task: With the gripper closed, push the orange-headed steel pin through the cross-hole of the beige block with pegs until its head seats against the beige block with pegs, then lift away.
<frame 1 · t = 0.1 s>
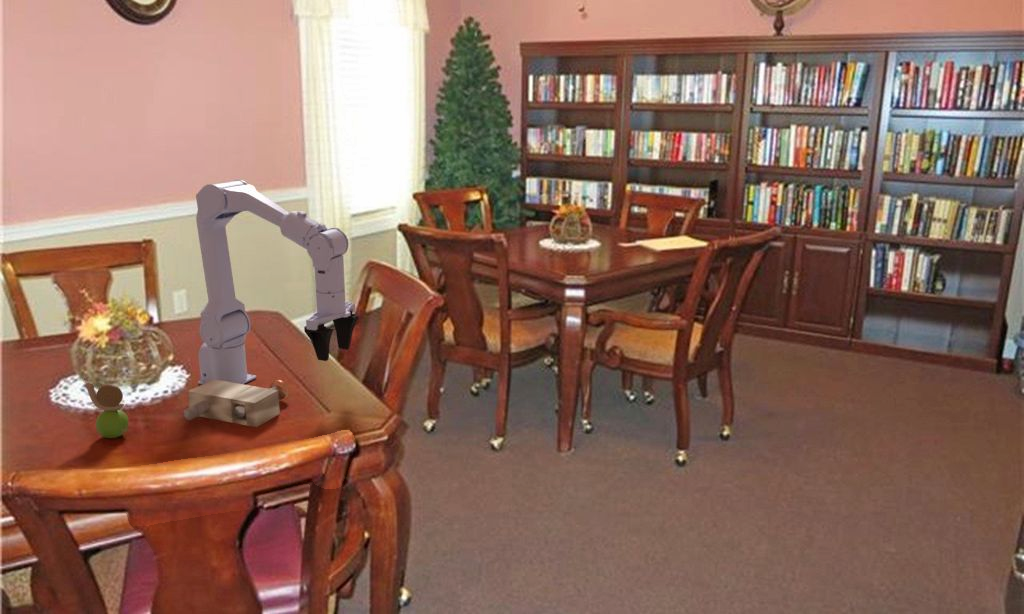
hand: (333, 354, 159), 10 cm above the table, fingers open, 7 cm apart
snail figurine: (111, 438, 144), on the table
lynch pin: (260, 400, 155), point 2 cm above the table, slide at 0.0 cm
beige block with pegs: (235, 414, 154), on the table
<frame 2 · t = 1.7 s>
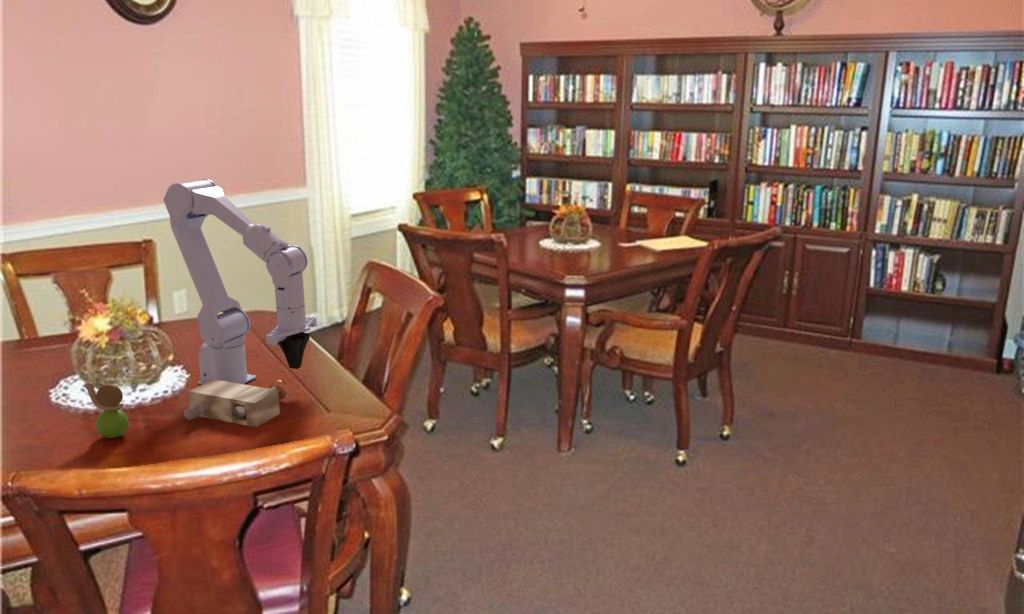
hand: (295, 367, 164), 5 cm above the table, fingers closed
nothing on the table moved.
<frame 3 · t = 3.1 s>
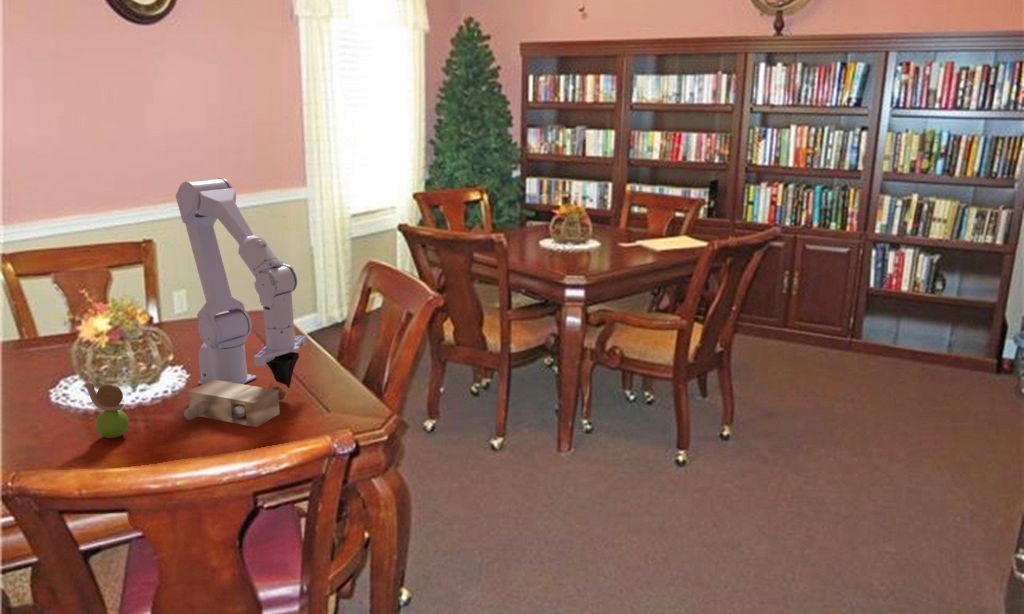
hand: (283, 387, 162), 2 cm above the table, fingers closed
lynch pin: (259, 400, 155), point 3 cm above the table, slide at 0.3 cm, touching gripper
everything else where it was.
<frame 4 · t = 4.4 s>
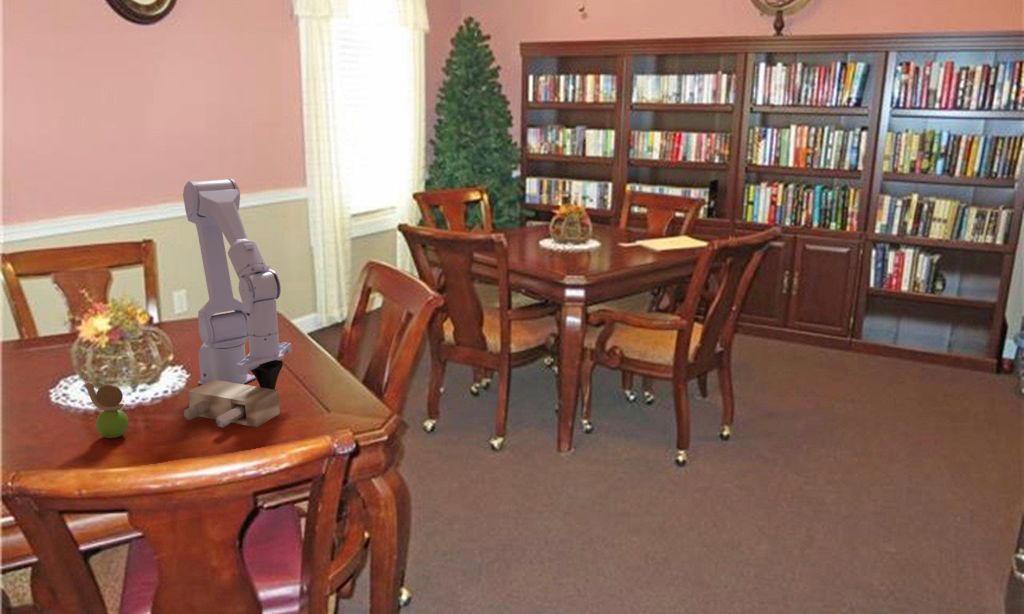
hand: (268, 396, 157), 2 cm above the table, fingers closed
lynch pin: (243, 409, 150), point 2 cm above the table, slide at 5.0 cm, touching beige block with pegs, gripper
everything else where it was.
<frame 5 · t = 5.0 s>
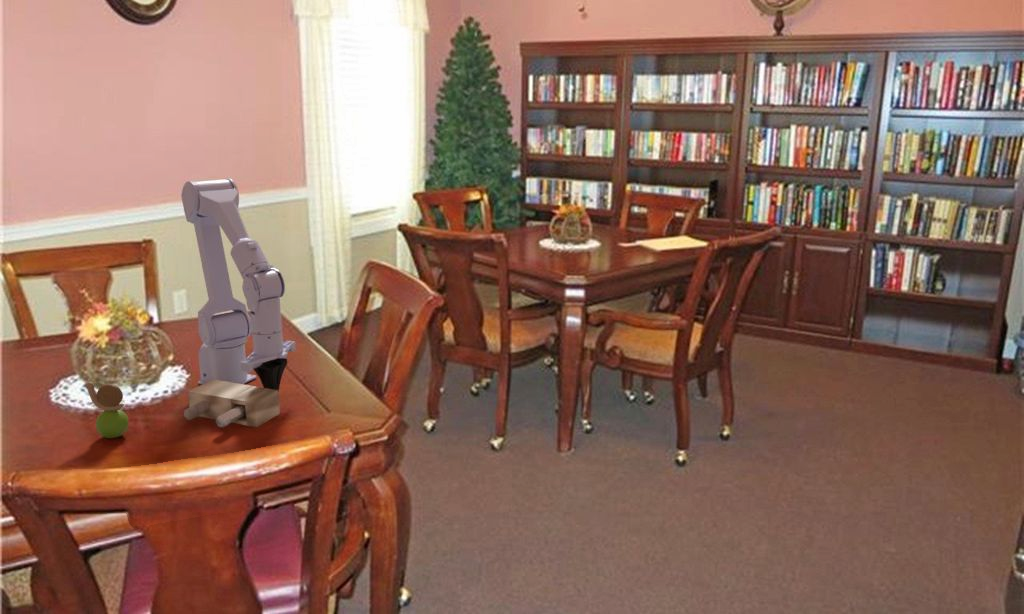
hand: (272, 394, 158), 2 cm above the table, fingers closed
lynch pin: (243, 409, 150), point 2 cm above the table, slide at 5.0 cm, touching beige block with pegs
everything else where it was.
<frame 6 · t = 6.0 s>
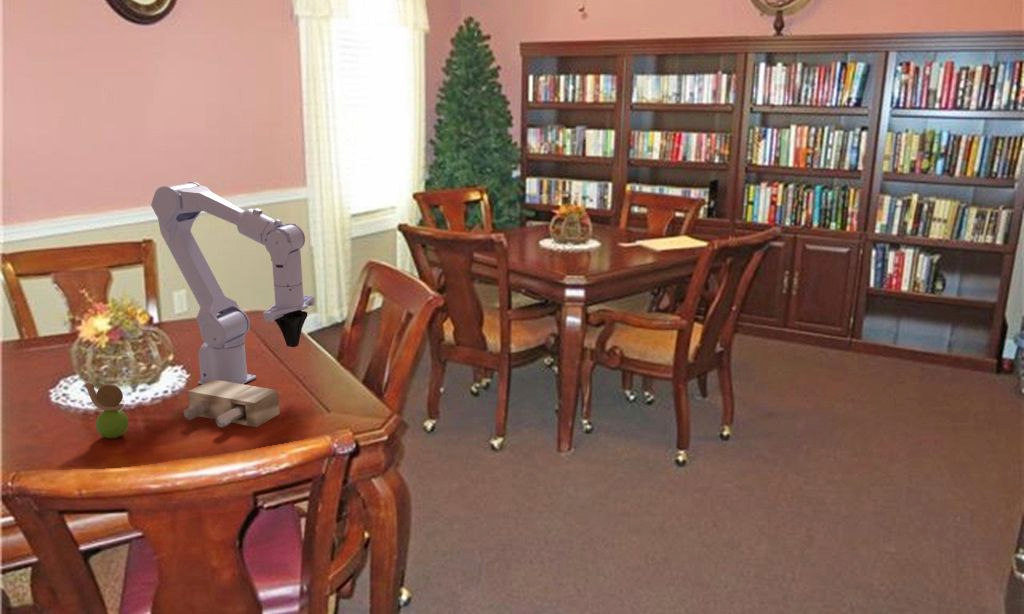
hand: (292, 345, 164), 10 cm above the table, fingers closed
nothing on the table moved.
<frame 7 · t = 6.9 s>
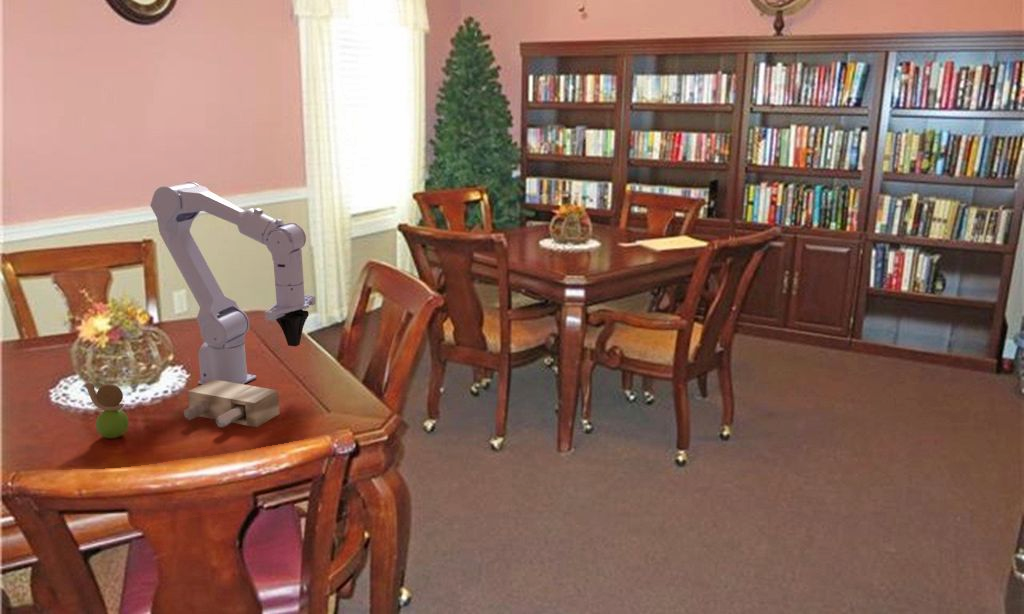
hand: (293, 345, 165), 10 cm above the table, fingers closed
nothing on the table moved.
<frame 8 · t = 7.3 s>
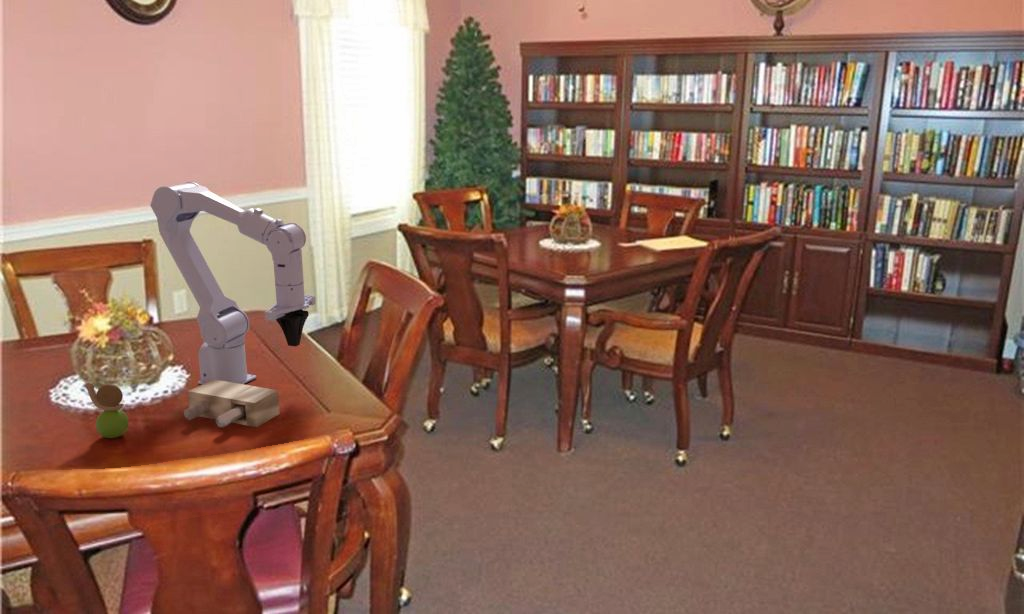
hand: (293, 345, 165), 10 cm above the table, fingers closed
nothing on the table moved.
at the end: lynch pin slide at 5.0 cm; lynch pin touching beige block with pegs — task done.
